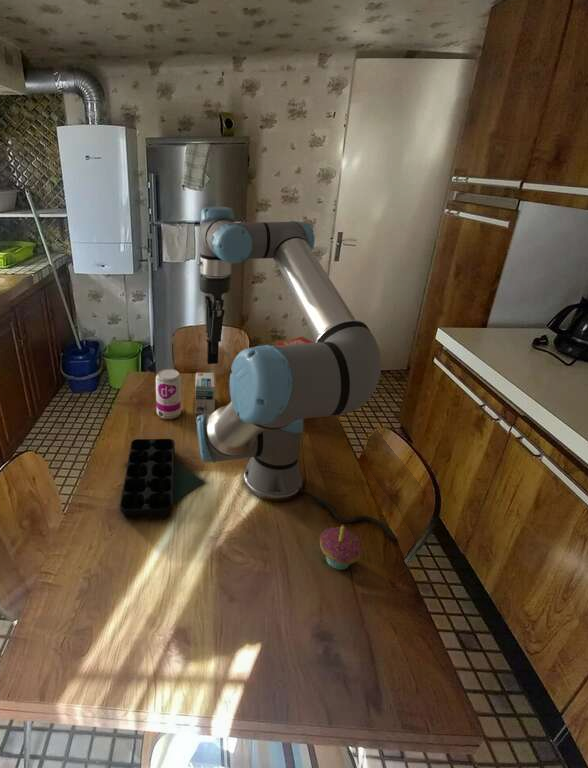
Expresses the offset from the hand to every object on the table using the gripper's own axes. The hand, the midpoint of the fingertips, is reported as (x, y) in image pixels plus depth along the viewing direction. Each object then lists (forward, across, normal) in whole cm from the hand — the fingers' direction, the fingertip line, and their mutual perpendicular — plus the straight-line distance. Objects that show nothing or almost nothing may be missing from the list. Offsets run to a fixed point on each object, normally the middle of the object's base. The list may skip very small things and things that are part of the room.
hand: (212, 362), depth 116 cm
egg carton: (+29, +12, -18) cm, 36 cm away
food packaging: (+29, -18, +30) cm, 46 cm away
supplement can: (+29, -22, -10) cm, 38 cm away
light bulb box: (+29, -25, +3) cm, 38 cm away
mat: (+29, +9, -14) cm, 33 cm away
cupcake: (+28, +42, +20) cm, 55 cm away
